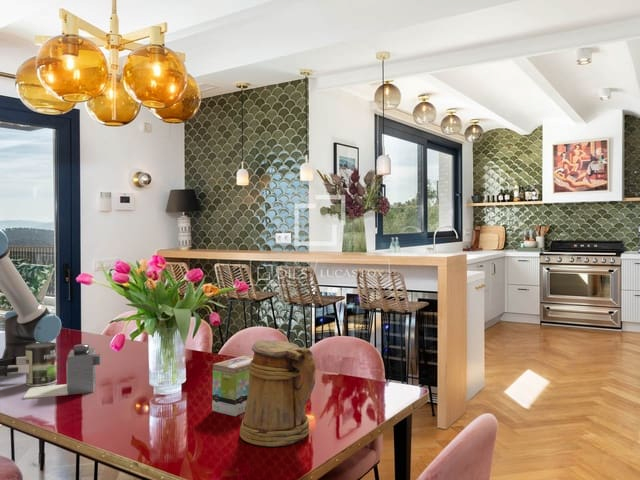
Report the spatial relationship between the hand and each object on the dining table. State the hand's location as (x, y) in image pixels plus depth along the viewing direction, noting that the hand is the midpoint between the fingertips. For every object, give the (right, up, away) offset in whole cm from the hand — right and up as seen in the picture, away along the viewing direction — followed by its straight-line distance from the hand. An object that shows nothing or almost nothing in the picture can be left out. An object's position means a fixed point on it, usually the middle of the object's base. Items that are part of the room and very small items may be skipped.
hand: (32, 363), depth 197 cm
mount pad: (+11, -7, -10) cm, 17 cm away
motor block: (+21, -7, -7) cm, 23 cm away
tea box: (+81, -7, -29) cm, 86 cm away
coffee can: (+2, -8, +2) cm, 8 cm away
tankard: (+95, -8, -53) cm, 109 cm away
